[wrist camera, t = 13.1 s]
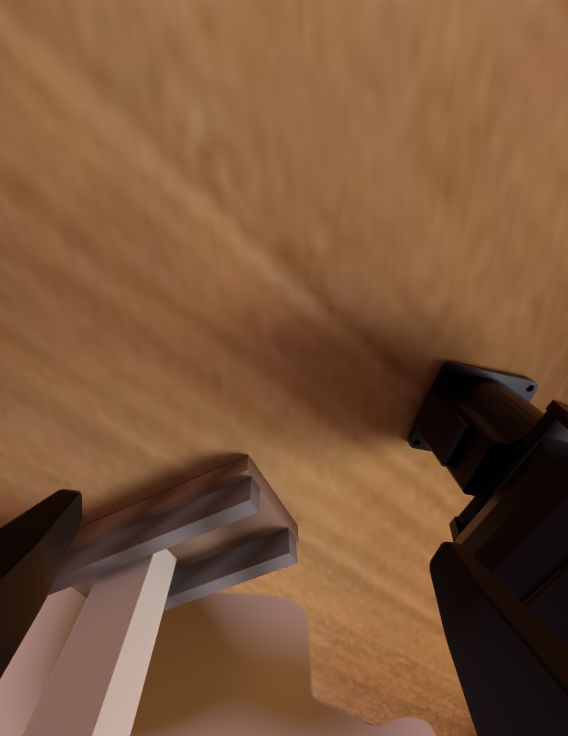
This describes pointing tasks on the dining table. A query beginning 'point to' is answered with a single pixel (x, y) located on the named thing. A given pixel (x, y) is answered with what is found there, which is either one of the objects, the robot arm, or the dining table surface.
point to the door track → (191, 535)
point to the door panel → (106, 653)
